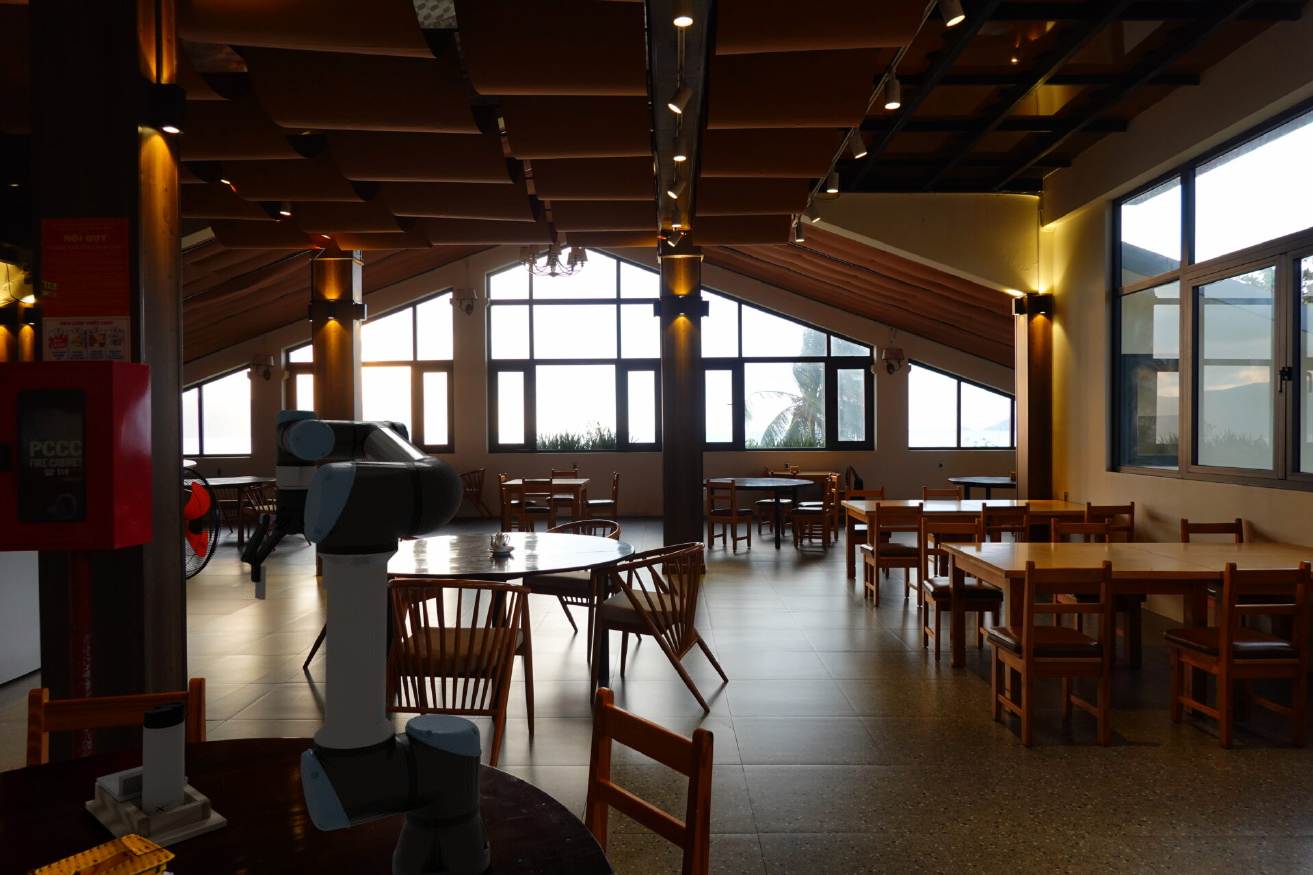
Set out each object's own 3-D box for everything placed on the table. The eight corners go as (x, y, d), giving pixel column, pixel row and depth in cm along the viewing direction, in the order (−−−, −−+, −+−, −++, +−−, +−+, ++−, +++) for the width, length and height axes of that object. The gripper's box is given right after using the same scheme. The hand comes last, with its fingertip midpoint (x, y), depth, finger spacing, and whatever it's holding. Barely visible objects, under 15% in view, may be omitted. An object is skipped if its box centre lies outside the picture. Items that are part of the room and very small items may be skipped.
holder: (226, 825, 143) (227, 802, 143) (136, 856, 133) (136, 831, 133) (169, 783, 160) (170, 762, 160) (85, 807, 149) (85, 785, 149)
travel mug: (166, 827, 140) (167, 711, 140) (133, 823, 142) (134, 708, 141) (193, 811, 146) (195, 699, 146) (161, 807, 148) (163, 696, 148)
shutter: (187, 781, 151) (188, 761, 151) (119, 801, 142) (119, 780, 142) (163, 764, 158) (163, 744, 158) (96, 782, 150) (97, 761, 150)
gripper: (344, 484, 175) (343, 583, 175) (222, 488, 156) (221, 600, 156) (363, 486, 171) (362, 588, 171) (240, 491, 151) (238, 605, 151)
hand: (294, 594), depth 163 cm, fingers open, 13 cm apart
